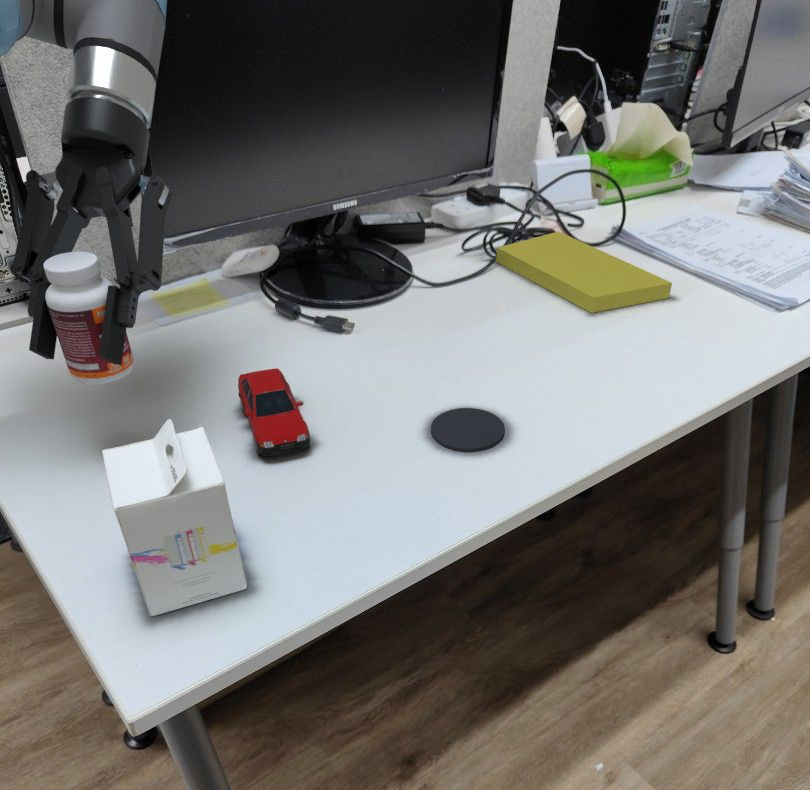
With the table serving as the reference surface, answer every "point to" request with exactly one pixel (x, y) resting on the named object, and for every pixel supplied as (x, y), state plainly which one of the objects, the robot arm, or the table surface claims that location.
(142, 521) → the ink box
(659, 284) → the flat mustard tile
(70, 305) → the pill bottle
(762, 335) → the table surface
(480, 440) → the coaster
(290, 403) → the toy car
